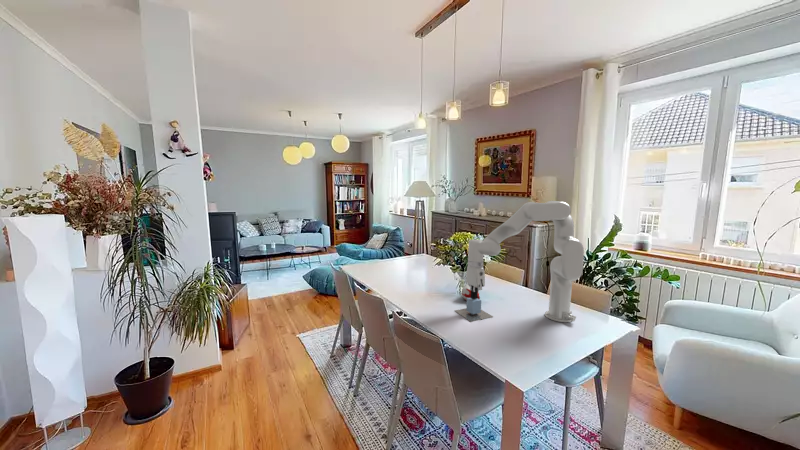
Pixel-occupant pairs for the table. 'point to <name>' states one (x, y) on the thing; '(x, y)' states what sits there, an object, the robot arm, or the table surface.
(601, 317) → the table surface
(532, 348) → the table surface
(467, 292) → the red white rounded piece
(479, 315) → the square pedestal stand
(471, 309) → the blue-grey rectangular block
